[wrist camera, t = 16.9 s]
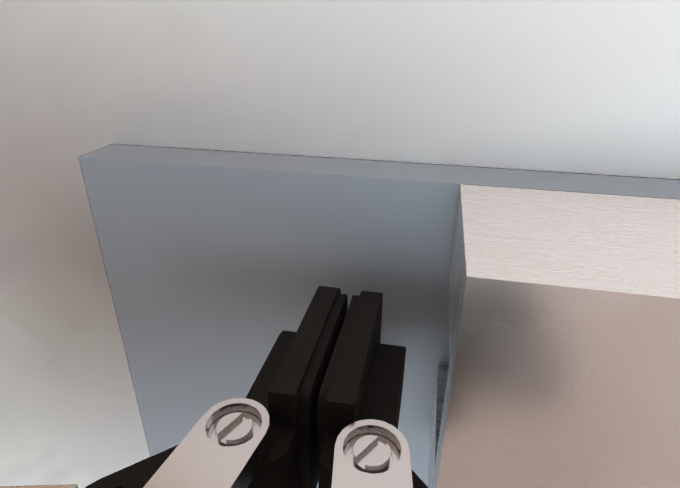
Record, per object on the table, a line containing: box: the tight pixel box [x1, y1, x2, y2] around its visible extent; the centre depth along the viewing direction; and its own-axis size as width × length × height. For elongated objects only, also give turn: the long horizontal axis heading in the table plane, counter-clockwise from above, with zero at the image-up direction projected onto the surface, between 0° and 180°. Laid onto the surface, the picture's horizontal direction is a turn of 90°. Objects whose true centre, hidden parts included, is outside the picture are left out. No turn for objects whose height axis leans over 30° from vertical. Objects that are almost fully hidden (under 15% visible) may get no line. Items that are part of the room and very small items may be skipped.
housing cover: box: [427, 184, 680, 488], centre depth 10 cm, size 7×8×4 cm
